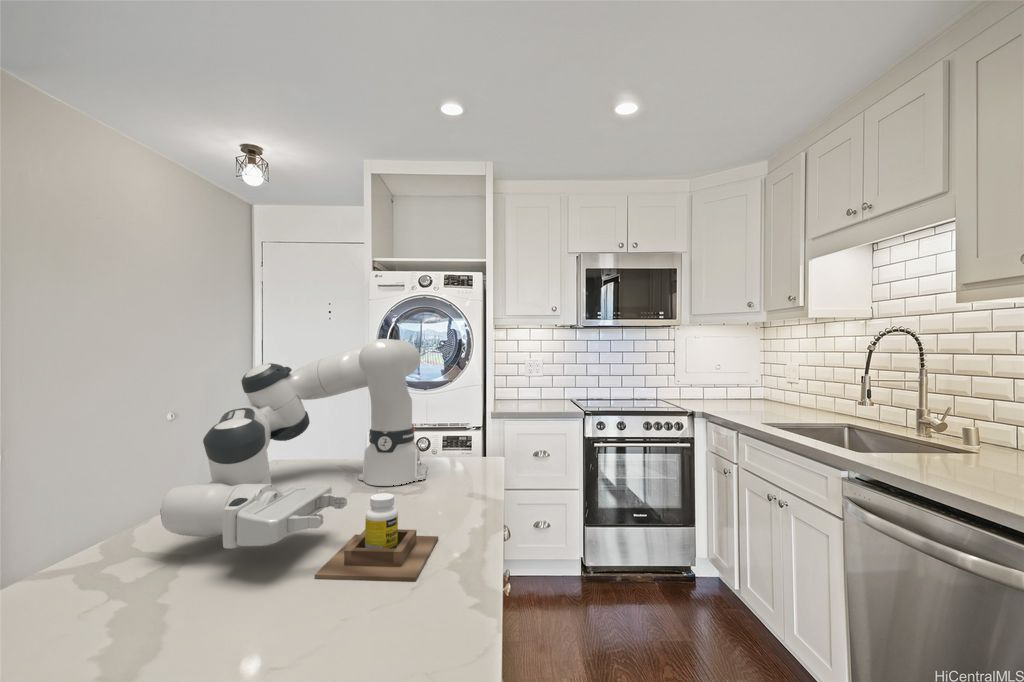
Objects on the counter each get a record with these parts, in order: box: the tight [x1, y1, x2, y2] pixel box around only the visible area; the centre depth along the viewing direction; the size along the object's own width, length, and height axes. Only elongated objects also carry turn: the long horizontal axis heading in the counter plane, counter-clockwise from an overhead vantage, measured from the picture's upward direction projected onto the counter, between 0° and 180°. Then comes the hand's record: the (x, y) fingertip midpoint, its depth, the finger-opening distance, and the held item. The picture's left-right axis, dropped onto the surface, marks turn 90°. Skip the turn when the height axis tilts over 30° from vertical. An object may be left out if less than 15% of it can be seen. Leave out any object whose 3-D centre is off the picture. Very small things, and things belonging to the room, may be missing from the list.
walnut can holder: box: [314, 528, 439, 582], centre depth 80 cm, size 16×16×3 cm
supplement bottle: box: [364, 492, 399, 549], centre depth 80 cm, size 5×5×10 cm
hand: (334, 511), depth 80 cm, fingers open, 8 cm apart
